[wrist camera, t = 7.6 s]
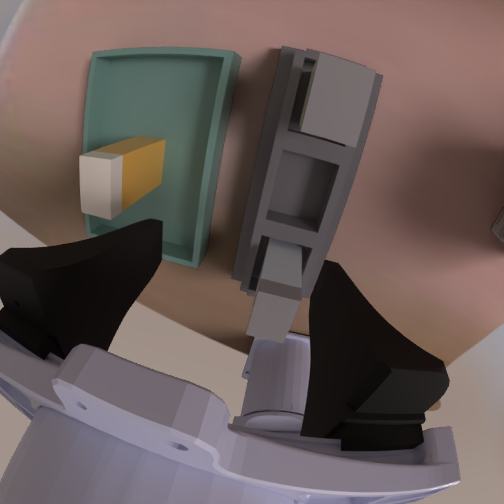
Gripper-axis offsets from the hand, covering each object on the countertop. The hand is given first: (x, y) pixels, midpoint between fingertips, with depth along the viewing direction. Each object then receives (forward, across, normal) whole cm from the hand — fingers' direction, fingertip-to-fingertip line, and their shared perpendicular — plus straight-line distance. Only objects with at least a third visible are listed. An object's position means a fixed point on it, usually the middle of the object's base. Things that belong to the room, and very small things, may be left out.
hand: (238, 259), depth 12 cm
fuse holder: (+10, -2, -1) cm, 10 cm away
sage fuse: (+9, -2, -7) cm, 12 cm away
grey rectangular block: (+9, -2, +5) cm, 10 cm away
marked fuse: (+9, +9, -1) cm, 13 cm away
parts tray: (+10, +9, -2) cm, 13 cm away
